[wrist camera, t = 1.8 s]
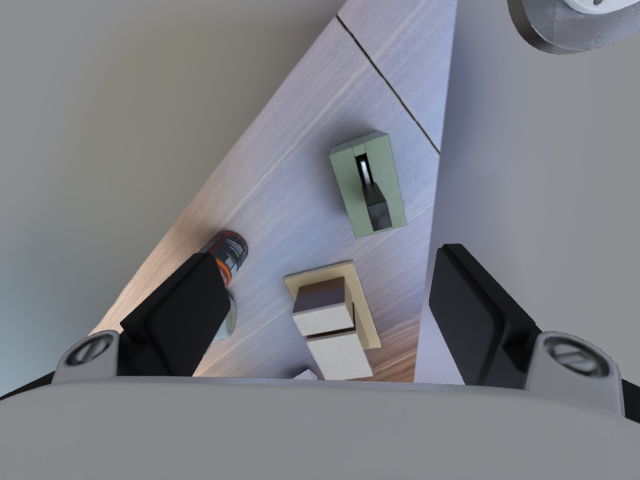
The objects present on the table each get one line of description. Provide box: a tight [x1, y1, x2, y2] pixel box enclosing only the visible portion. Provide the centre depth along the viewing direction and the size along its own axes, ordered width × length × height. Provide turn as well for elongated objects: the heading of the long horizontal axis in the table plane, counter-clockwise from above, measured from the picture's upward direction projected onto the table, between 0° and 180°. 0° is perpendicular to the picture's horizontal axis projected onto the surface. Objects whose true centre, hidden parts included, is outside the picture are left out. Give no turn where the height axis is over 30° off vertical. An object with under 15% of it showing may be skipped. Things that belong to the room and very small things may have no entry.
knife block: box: [329, 131, 407, 239], centre depth 28 cm, size 10×6×7 cm, turn 20°
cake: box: [284, 260, 382, 380], centre depth 39 cm, size 12×20×8 cm, turn 20°
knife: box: [357, 155, 392, 232], centre depth 25 cm, size 7×2×13 cm, turn 19°
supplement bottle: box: [198, 231, 248, 288], centre depth 33 cm, size 6×6×11 cm
